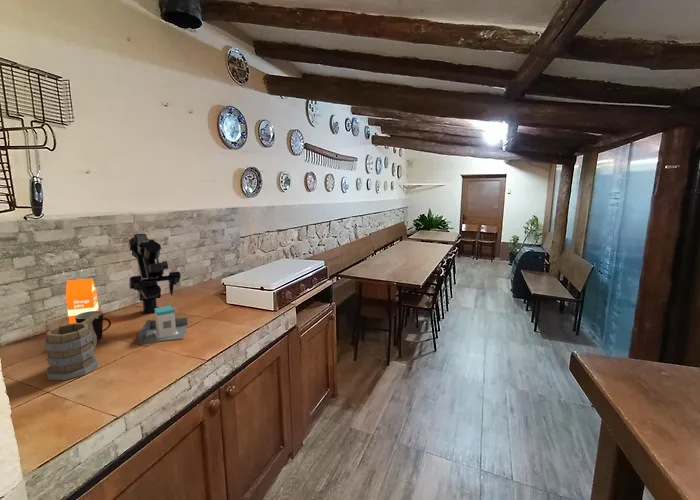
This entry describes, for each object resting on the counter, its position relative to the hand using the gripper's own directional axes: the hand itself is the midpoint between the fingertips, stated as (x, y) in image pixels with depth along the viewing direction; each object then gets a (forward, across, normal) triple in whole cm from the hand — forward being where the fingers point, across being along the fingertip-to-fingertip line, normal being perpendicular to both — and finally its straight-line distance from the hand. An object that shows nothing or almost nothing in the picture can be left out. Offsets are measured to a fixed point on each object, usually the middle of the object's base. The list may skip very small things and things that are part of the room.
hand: (159, 297), depth 143 cm
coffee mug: (+8, -23, +12) cm, 27 cm away
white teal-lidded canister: (+15, 0, +4) cm, 15 cm away
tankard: (+22, -28, -2) cm, 35 cm away
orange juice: (-6, -24, +26) cm, 36 cm away
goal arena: (+15, 0, +4) cm, 16 cm away
